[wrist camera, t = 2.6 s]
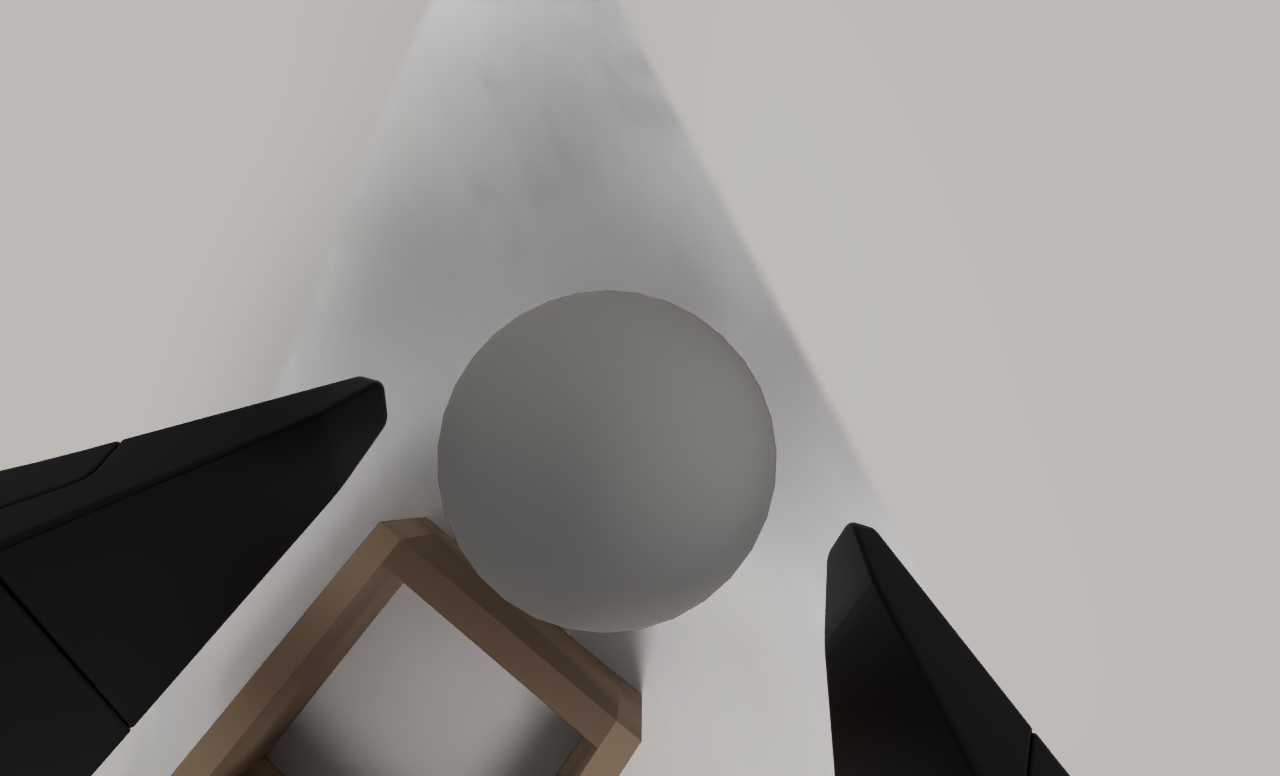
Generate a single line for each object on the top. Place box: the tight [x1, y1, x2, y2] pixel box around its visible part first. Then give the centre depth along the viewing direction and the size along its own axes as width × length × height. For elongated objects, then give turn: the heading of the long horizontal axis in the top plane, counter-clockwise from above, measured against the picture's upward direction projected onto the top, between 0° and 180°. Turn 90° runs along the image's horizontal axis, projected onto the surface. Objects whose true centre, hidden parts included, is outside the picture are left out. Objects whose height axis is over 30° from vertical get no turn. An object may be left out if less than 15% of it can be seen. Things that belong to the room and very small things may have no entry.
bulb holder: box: [171, 517, 642, 776], centre depth 14 cm, size 9×9×3 cm
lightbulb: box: [438, 291, 776, 633], centre depth 12 cm, size 6×6×11 cm
